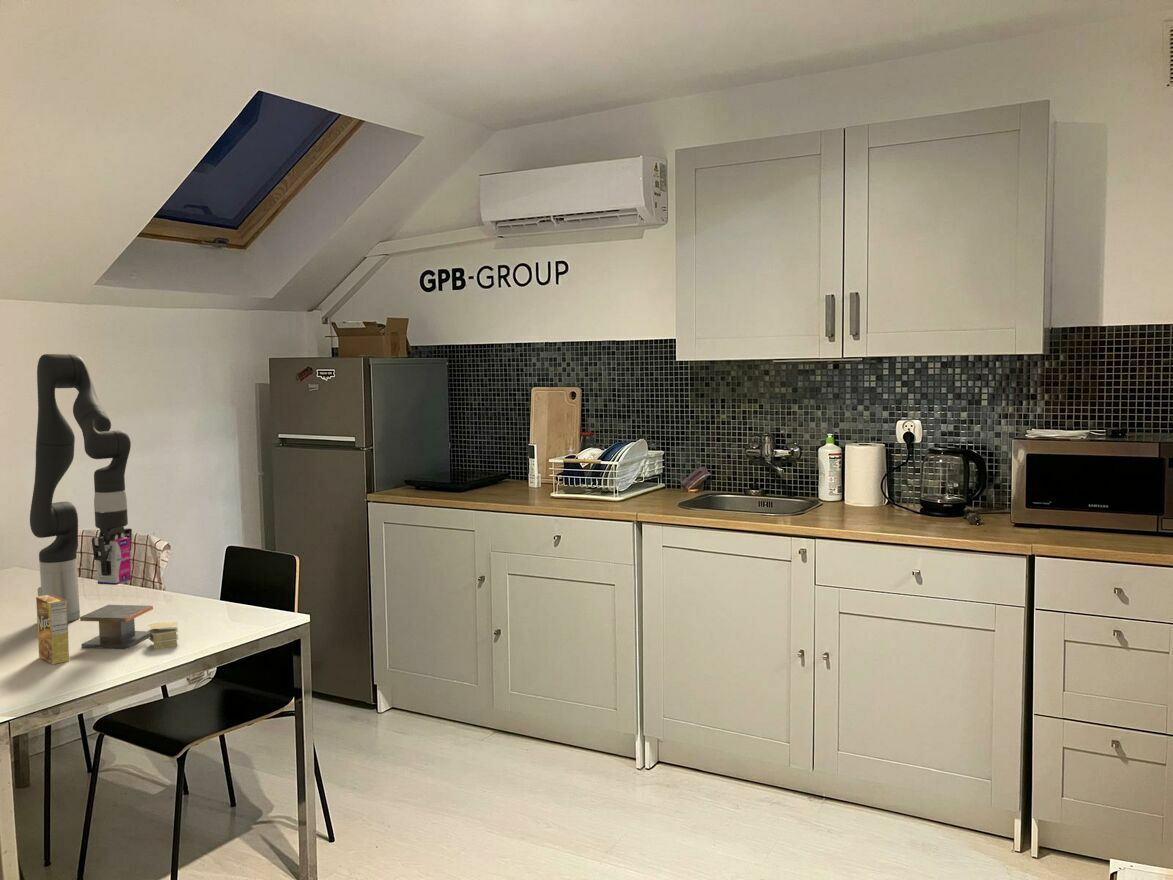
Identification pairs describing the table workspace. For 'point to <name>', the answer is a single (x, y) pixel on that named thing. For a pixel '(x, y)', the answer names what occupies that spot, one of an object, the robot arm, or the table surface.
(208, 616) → the table surface
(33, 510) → the robot arm
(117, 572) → the supplement box
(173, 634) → the tan layered block
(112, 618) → the stand
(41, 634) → the candy box
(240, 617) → the table surface
